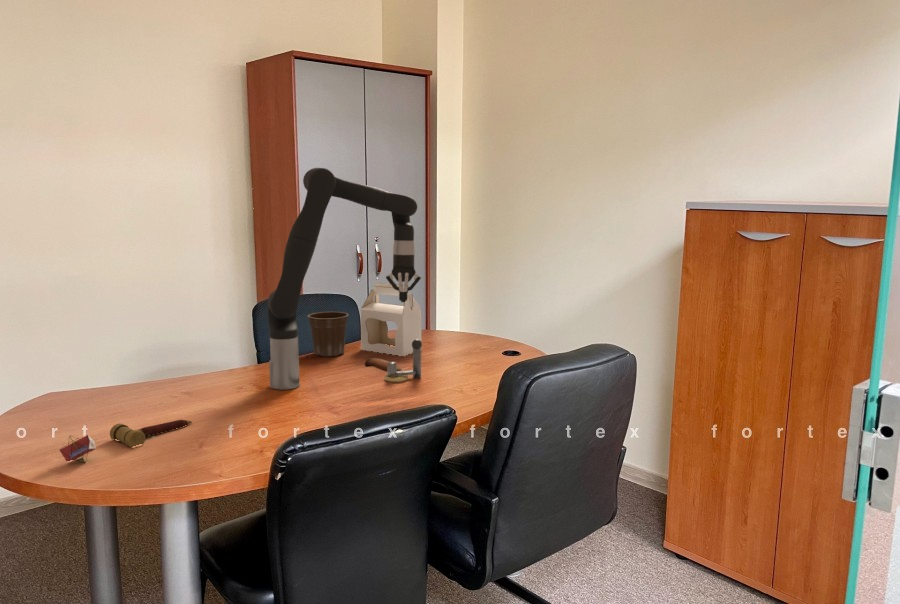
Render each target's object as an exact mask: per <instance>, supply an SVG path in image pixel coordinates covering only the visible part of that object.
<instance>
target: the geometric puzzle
mask: <svg viewBox="0 0 900 604" xmlns="http://www.w3.org/2000/svg"><path fill="white" fill-rule="evenodd" d="M75 436H78V435H71V436H68V438H67V439H68V440H70V439H71V441H68V443H67V445H64V444H65V443H63V444H62V446H63V447H60V449H59V451H60V453H61V455H62V457H63V458H64V460H65V462H67V461H70V460H74V461H75V460H76V461H79V459H80V458H81V459H83V458H84V455H85V456H88V455H89V454H90V453H91V455H92V454H93V453H92V452H93V451H95V450H96V442H95V440H94V439H93V438H91V436H89V435H88V434H85V435H84V436H82V437H79V438H78V437H75ZM72 438H75V439H72ZM77 459H78V460H77ZM85 461H88V457H86V459H85Z"/></svg>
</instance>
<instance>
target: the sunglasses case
mask: <svg viewBox="0 0 900 604" xmlns="http://www.w3.org/2000/svg"><path fill="white" fill-rule="evenodd" d="M388 362H390V361H389V360H385V359H383V358H377V357H369V358H367V359H366V360H365V363H364V366H365V367H366V368H369V367H374V368H377V369H379V370H381V371H382V370H383V371H384V372H387V363H388ZM397 371H403V369H402V368H401V366H398V365H397Z"/></svg>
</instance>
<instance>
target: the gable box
mask: <svg viewBox="0 0 900 604" xmlns="http://www.w3.org/2000/svg"><path fill="white" fill-rule="evenodd" d="M396 285H397V286H398V287H399V284H396ZM372 288H373V289H369V294H368V296H367V298H366V299H365V301H364V303H363V304H362V306H361V308H360V341H361V342H360V346H361V347H360V349H361V350H362V351H365V350H366V351H365V352H371V351H373V352H372V353H377V352H379V353H378V354H383V353H386V354H385V355H389V354H392V355H391V356H395V355H398V356H397V357H401V356H404V357H407V356H409V355H408V354H410V355H413V354H412V353H413V347H412V342H413V341H414V340H416V339H418V340H420V341H421V342H422V308H421V307H420V305H419V303H418V302H417V300H416V299H415V298H414V296H413V293H411V292H409V291H408V292H407V301H405V302H403V305H401V304H392V303H383V302H380V298H379V295H385V296H396V297H397V296H398V297H399V291H398V290H395V289H394V288H393V287H392V285H391V284H390V283H385V282H375V283H374V285H372ZM403 291H404V284H403ZM387 322H393V323H395V324H396V327H397V328H396V332H395V336H394V338H391V337H389V336H388V331H389V328H388V324H387ZM385 344H387V345H389V346H387V345H385ZM390 345H393V346H395V347H390ZM406 355H407V356H406Z"/></svg>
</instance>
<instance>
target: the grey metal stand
mask: <svg viewBox="0 0 900 604" xmlns="http://www.w3.org/2000/svg"><path fill="white" fill-rule="evenodd" d="M412 347H413V354H412V370H411V369H410V370H401V371H397V366H398V365H397V363H398V362H397V361H389V362H388V363H387V371H386V372H387V374H385V375H384V381H386V382H388V383H392V384H393V383H394V384H398V383H404V382H407V381H408V380H409V376H410V375H411V376H412V378H413V379H421V378H422V347H423V343H422V340H421V341H420V340H418V339H416V340H414V341H413V342H412Z"/></svg>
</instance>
